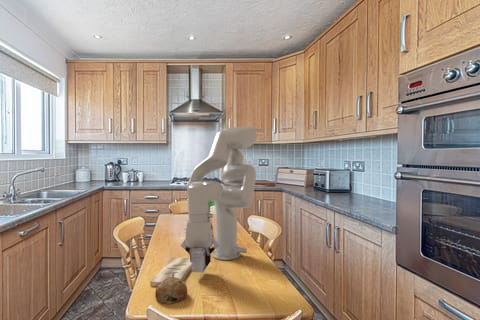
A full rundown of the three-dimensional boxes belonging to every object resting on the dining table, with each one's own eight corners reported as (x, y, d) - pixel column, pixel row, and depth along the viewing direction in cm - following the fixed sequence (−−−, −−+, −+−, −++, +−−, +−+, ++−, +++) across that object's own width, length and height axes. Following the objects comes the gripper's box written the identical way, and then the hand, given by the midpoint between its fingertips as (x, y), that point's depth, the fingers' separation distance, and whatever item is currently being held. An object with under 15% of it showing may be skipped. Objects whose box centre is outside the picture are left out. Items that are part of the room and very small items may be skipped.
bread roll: (156, 316, 92) (158, 297, 89) (152, 289, 100) (153, 271, 97) (188, 309, 96) (191, 291, 93) (182, 283, 104) (184, 266, 101)
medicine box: (203, 273, 109) (202, 250, 108) (191, 272, 110) (190, 249, 109) (209, 264, 117) (208, 242, 116) (198, 263, 118) (197, 241, 117)
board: (195, 261, 127) (195, 258, 127) (178, 287, 103) (178, 282, 103) (172, 261, 128) (172, 257, 128) (150, 285, 104) (150, 281, 104)
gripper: (222, 214, 114) (224, 260, 116) (179, 214, 116) (181, 259, 118) (219, 220, 107) (221, 269, 109) (173, 219, 109) (175, 268, 110)
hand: (200, 263), depth 113 cm, fingers closed on medicine box, 4 cm apart
